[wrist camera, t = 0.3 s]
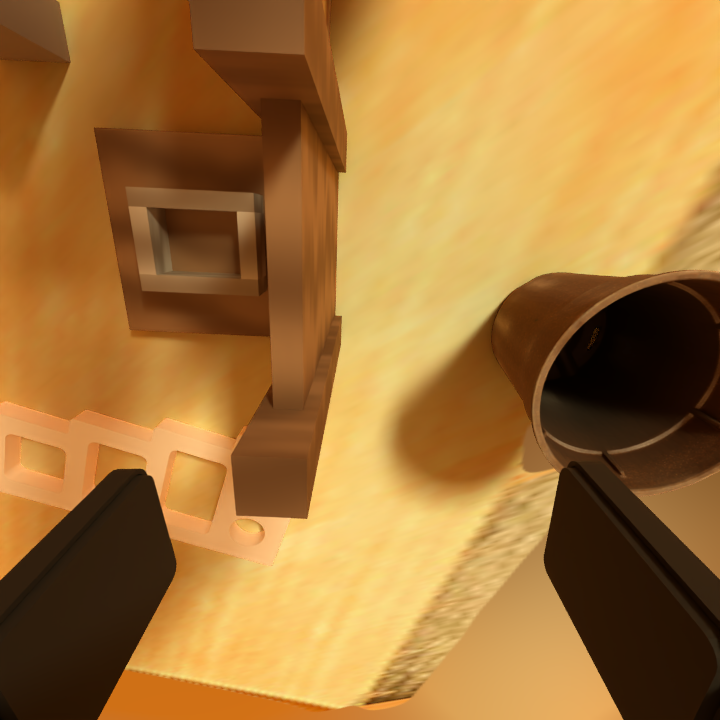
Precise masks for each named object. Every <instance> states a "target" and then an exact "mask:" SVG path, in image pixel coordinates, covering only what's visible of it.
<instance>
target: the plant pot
mask: <svg viewBox="0 0 720 720" xmlns="http://www.w3.org/2000/svg"><path fill="white" fill-rule="evenodd" d="M595 328H599V333H598V336H597V338H596V340H595V342H594V344H593V346H592V347H591V348H590V350H588V351H587V347H588V344H589V342H590V340H591V337H592V335H593V332H594V329H595ZM491 342H492V347H493V352H494V354H495V356H496V359H497V361H498V363H499V364H500V366H501V367H502V368H503V370H504V372H505V373H506V375H507V376H508V378H509V379H510V381H511V383H512V384H513V386H514V387H515V389H516V390H517V392H518V394H519V395H520V397H521V398H522V400H523V402H524V406H525V409H526V412H527V414H528V417H529V419H530V420H531V422H532V428H533V432H534V436H535V438H536V441H537V443H538V445H539V447H540V449H541V451H542V452H543V454H544V456H545V457H546V459H547V460H548V461H549V463H550V464H551V465H552V466H553V467H554V468H555V469H556V470H557V471H558V472H559V473H560V472H561V470H562V468H567V466H568V464H569V463H570V462H571V461H594V460H597V461H601V462H602V463H604V464H605V465H606V466H607V467H608V468H609V469H610V470H611V471H612V472H613V473H614V474H615V475H616V476H617V477H618V478H619V479H620V480H621V481H622V482H623V483H624V484H625V485H626V486H627V487H628V488H629V489H630V490H631V491H632V492H633V493H634V494H635V495H636V496H637V497H638V496H639V497H640V496H650V495H657V494H662V493H666V492H670V491H674V490H677V489H680V488H683V487H686V486H689V485H692V484H694V483H697V482H699V481H701V480H703V479H705V478H707V477H709V476H711V475H713V474H715V473H717V472H719V471H720V272H716V271H705V270H682V271H673V272H667V273H662V274H658V275H650V274H647V275H634V276H628V277H613V276H599V275H585V274H574V273H563V272H562V273H550V274H545V275H541V276H538V277H536V278H534V279H532V280H531V281H529V282H528V283H526V284H524V285H522V286H521V287H519V288H517V289H516V290H514V291H513V292H512V293H511V294H510V295H509V296H508V298H507V299H506V300H505V301H504V303H503V304H502V306H501V308H500V309H499V311H498V313H497V316H496V318H495V321H494V324H493V329H492V338H491Z"/></svg>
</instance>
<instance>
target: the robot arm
mask: <svg viewBox="0 0 720 720" xmlns="http://www.w3.org/2000/svg"><path fill="white" fill-rule="evenodd" d="M544 564H545V569H546V572H547V574H548V576H549V578H550V580H551V582H552V584H553V586H554V588H555V590H556V591H557V593H558V595H559V597H560V599H561V601H562V603H563V605H564V607H565V609H566V611H567V612H568V614H569V616H570V618H571V620H572V622H573V624H574V626H575V628H576V630H577V631H578V633H579V635H580V637H581V639H582V641H583V643H584V645H585V647H586V649H587V651H588V653H589V655H590V656H591V658H592V660H593V662H594V664H595V666H596V668H597V670H598V672H599V674H600V676H601V678H602V679H603V681H604V683H605V685H606V687H607V689H608V691H609V693H610V695H611V697H612V699H613V700H614V702H615V704H616V706H617V708H618V710H619V712H620V714H621V715H622V718H623V719H624V720H720V579H719V578H717V576H715V574H713V573H712V571H710V569H709V568H708V567H707V566H706V565H705V564H704V563H702V561H701V560H699V558H698V557H696V556H695V555H694V554H693V552H692V551H690V549H689V548H688V547H687V546H686V545H684V543H683V542H682V541H681V540H679V538H678V537H677V536H676V535H675V534H674V533H673V532H671V530H670V529H669V528H668V527H667V526H666V525H665V524H664V523H663V522H662V521H661V520H660V519H659V518H658V517H657V516H656V515H655V514H654V513H653V512H652V511H651V510H650V509H649V508H648V507H646V505H645V504H644V503H643V502H642V501H641V500H640V499H639V498H638V497H637V496H636V495H635V494H634V493H633V492H632V491H631V490H630V489H629V488H628V487H627V486H626V485H625V484H624V483H623V482H622V481H621V480H620V479H619V478H618V477H617V476H616V475H615V474H614V473H613V472H612V471H611V470H610V469H609V468H608V467H607V466H606V465H605V464H604V463H602V462H601V461H597V460H594V461H571V462H570V463H569V464H568V466H567V468H562V470H561V472H560V476H559V481H558V486H557V491H556V496H555V501H554V507H553V512H552V517H551V522H550V527H549V532H548V538H547V542H546V548H545V554H544ZM175 572H176V558H175V555H174V551H173V547H172V544H171V540H170V537H169V533H168V529H167V526H166V522H165V518H164V515H163V511H162V508H161V504H160V500H159V497H158V493H157V489H156V486H155V482H154V479H153V477H152V476H150V475H147V473H146V471H144V470H143V469H117V470H113V471H112V472H111V473H109V474H108V475H107V476H106V477H105V478H104V479H103V480H102V481H101V482H100V483H99V484H98V485H97V486H96V487H95V488H94V489H93V490H92V491H91V492H90V493H89V494H88V495H87V496H86V497H85V498H84V499H83V500H82V501H81V502H80V503H79V504H78V505H77V506H76V507H75V508H74V509H73V510H72V511H71V512H70V513H69V514H68V515H67V516H66V517H65V518H64V519H63V520H62V521H61V522H59V523H58V524H57V525H56V526H55V527H54V528H53V529H52V530H51V531H50V532H49V533H48V534H47V535H46V536H45V537H44V538H43V539H42V540H41V541H40V542H39V543H38V544H37V545H36V546H35V547H34V548H33V549H32V550H31V551H30V552H29V553H28V554H27V555H26V556H25V557H24V558H23V559H22V560H21V561H20V562H19V563H18V564H17V565H16V566H15V567H14V568H13V569H12V570H11V571H10V572H9V573H8V574H7V575H6V576H4V577H3V578H2V579H1V580H0V720H97V719H98V717H99V716H100V714H101V712H102V710H103V708H104V706H105V704H106V703H107V701H108V699H109V697H110V695H111V693H112V691H113V689H114V688H115V686H116V684H117V682H118V680H119V678H120V677H121V675H122V673H123V671H124V669H125V667H126V665H127V664H128V662H129V660H130V658H131V656H132V654H133V652H134V650H135V649H136V647H137V645H138V643H139V641H140V639H141V637H142V636H143V634H144V632H145V630H146V628H147V626H148V624H149V623H150V621H151V619H152V617H153V615H154V613H155V611H156V610H157V608H158V606H159V604H160V602H161V600H162V598H163V597H164V595H165V593H166V591H167V589H168V587H169V585H170V584H171V582H172V580H173V578H174V575H175Z"/></svg>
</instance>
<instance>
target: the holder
mask: <svg viewBox="0 0 720 720" xmlns="http://www.w3.org/2000/svg"><path fill="white" fill-rule="evenodd" d="M246 428H247V426H244V427H243V428H242V430H241V432H240V433H239V435H238V437H237V439H234V438H231V437H227V436H224V435H221V434H218V433H215V432H211V431H208V430H205V429H202V428H199V427H195V426H192V425H189V424H186V423H183V422H179V421H176V420H173V419H170V418H165V419H164V420H163V421H162V422H161V423H160V424H159V425H157V426H156V427H155V428H154V430H152V429H149V428H145V427H142V426H139V425H136V424H132V423H129V422H126V421H123V420H119V419H116V418H113V417H110V416H106V415H103V414H100V413H97V412H93V411H90V410H84V411H83V412H81V413H80V414H78V415H77V416H75V417H74V418H72V419H71V420H70V421H69V420H66V419H63V418H59V417H56V416H53V415H49V414H46V413H43V412H39V411H36V410H33V409H30V408H26V407H23V406H20V405H16V404H13V403H10V402H6V401H5V402H3V403H1V404H0V492H3V493H7V494H11V495H14V496H18V497H21V498H25V499H29V500H32V501H36V502H40V503H43V504H47V505H50V506H54V507H58V508H61V509H65V510H69V511H72V510H73V509H74V508H75V507H76V506H77V505H78V504H79V503H80V502H81V501H82V500H83V499H84V498H85V497H86V496H87V495H88V494H89V493H90V492H91V491H92V490H93V489H94V488H95V487H96V486H95V485H94V480H95V473H96V466H97V459H98V452H99V445H100V444H102V445H105V446H109V447H112V448H115V449H119V450H122V451H126V452H129V453H132V454H136V455H139V456H142V457H143V458H145V459H146V461H147V466H146V473H147V475H150V476H152V477H153V479H154V482H155V486H156V489H157V493H158V497H159V500H160V504H161V508H162V511H163V515H164V518H165V522H166V526H167V529H168V533H169V537H170V539H174V540H177V541H181V542H184V543H188V544H192V545H195V546H199V547H203V548H206V549H210V550H213V551H217V552H221V553H224V554H228V555H232V556H235V557H239V558H242V559H246V560H250V561H253V562H257V563H261V564H264V565H268V566H272V565H273V563H274V560H275V557H276V555H277V552H278V550H279V547H280V544H281V542H282V539H283V537H284V534H285V532H286V529H287V526H288V524H289V521H290V519H291V518H279V517H256V516H236V509H235V498H234V487H233V476H232V465H231V454H232V452H233V451H234V449H235V447H236V445H237V444H238V442H239V440H240V439H241V437H242V435H243V433H244V432H245V430H246ZM22 437H23V438H27V439H30V440H34V441H37V442H40V443H44V444H47V445H51V446H54V447H57V448H60V449H62V450H63V451H64V452H65V453H66V462H65V472H64V479H61V478H57V477H54V476H50V475H47V474H43V473H40V472H36V471H33V470H29V469H26V468H24V467H23V466H22V465H21V463H20V457H21V438H22ZM177 451H180V452H184V453H187V454H190V455H193V456H197V457H200V458H203V459H207V460H210V461H213V462H217V463H220V464H223V465H224V466H225V467H226V469H227V473H226V476H225V480H224V483H223V487H222V490H221V493H220V497H219V500H218V504H217V507H216V510H215V514H214V517H213V521H208V520H205V519H201V518H198V517H194V516H191V515H187V514H184V513H180V512H177V511H173V510H170V509H168V508H167V507H166V506H165V501H166V496H167V492H168V488H169V483H170V479H171V475H172V470H173V466H174V462H175V457H176V453H177ZM238 519H252V520H254V521H256V522H258V523H259V524H260V525H261V526H262V527H263V529H264V530H263V531H261V532H256V533H252V532H247V531H244V530H243V529H241V528H240V527H239V526H238V525H237V524H236V520H238Z"/></svg>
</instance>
